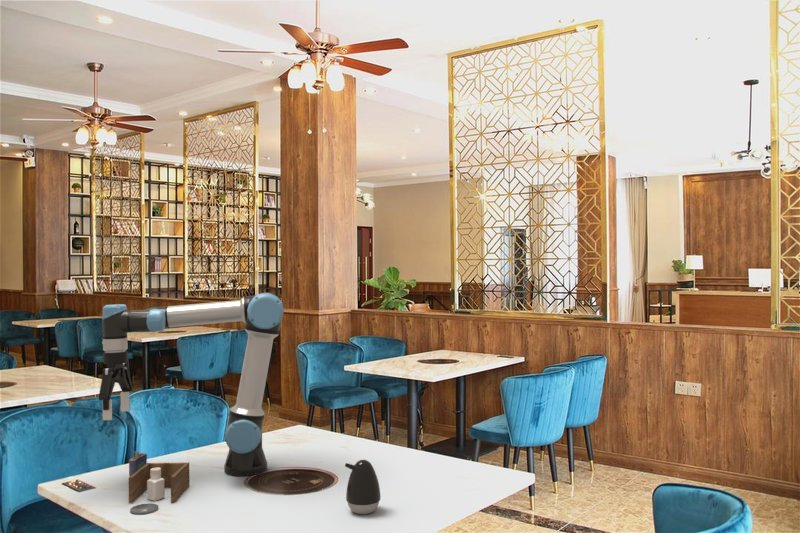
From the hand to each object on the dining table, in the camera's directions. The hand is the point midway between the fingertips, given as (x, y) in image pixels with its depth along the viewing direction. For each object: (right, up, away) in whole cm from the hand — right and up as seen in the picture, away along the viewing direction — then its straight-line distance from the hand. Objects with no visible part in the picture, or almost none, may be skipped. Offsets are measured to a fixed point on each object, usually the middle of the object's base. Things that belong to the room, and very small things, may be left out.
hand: (116, 415), depth 225 cm
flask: (+4, -25, +7) cm, 26 cm away
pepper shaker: (+17, -24, -10) cm, 31 cm away
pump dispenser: (+83, -24, -23) cm, 89 cm away
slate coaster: (+17, -24, -20) cm, 36 cm away
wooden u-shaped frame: (+17, -24, -6) cm, 30 cm away
